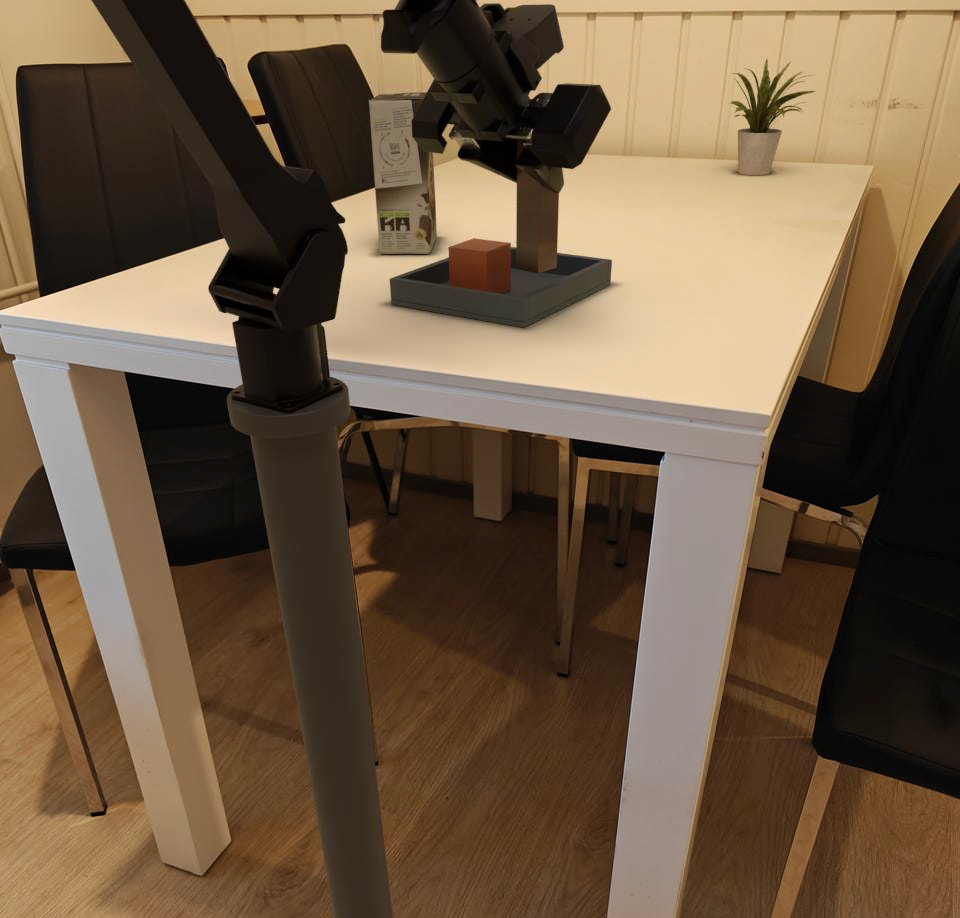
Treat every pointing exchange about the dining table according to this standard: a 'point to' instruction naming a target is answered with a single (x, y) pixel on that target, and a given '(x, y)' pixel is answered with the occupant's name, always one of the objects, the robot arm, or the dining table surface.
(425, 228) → the coffee box
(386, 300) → the dining table surface
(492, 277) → the block
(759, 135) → the house plant
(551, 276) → the tray
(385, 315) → the dining table surface
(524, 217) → the tall brown rectangular pillar
